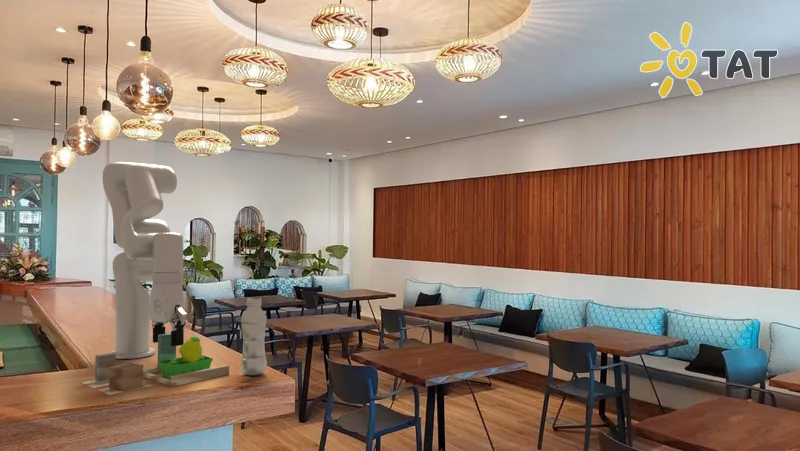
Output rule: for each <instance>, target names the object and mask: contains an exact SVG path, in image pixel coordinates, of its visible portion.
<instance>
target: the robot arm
mask: <svg viewBox="0 0 800 451" xmlns="http://www.w3.org/2000/svg"><path fill="white" fill-rule="evenodd" d="M177 184H178V178H177V175H176V172H175V171H174V170H173V168H171V167H170V166H167V165H159V164H150V163H149V164H148V163H141V162H128V161H127V162H126V161H114V162H110V163H108V164H106V165H105V166H104V168H103V170H102V186H103V187H102V188H103V190H104V193H105V195H106V198H107V200H108V202H109V205H110V208H111V212H112V213H111V214H112V224H113V231H114V232H113V233H114V239H115V243H116V246H118V247H119V248H121V249H123V252H120V253H117V255H116V256H114V258H113V260H112V272H113V277H114V286H115V287H114V288H115V290H114V291H115V322H114V323H115V324H114V325H115V330H114V336H115V337H114V345H115V346H114V350H112V351H110V352H109V353H115V354H116V360H117V359H118V360H128V359H129V360H131V359H133V360H134V359H140V358H145V357H149V356H153V355H154V354H156V349H155V348H154V347H151V342H150V340H151V333H150V332H151V327H152V343H157V344H158V335H161V334H166V326H165V324H168V323H169V324H170V326H171V329H172V330H171V331H170V333H171V346H173V347H174V346H176V347H179V346H180V347H181V346H182V345H183V344H184V343H185V341H184V337H185V335H184V334H185V325H186V320H187V317H188V314H187V312H185V299H184V298H185V297H184V289H183V285H184V236H183V235H182V234H181V233H179V232H171V229H170V227H169V225H168V223H167V222H166V221H164V220H161V219H155V218H154V219H153V217H156V216H157V215H159V214H160V213H161V212H162V211H163V209H164V201H163V198H162V194H172V193H173V192H175V191H176V189H177V186H178V185H177ZM149 282H150V283H151V282H152V288H151V294H150V293H149V291H148V290H147V289H146V288H145V287H144V286H143V284H142V283H149Z"/></svg>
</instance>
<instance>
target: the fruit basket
mask: <svg viewBox="0 0 800 451" xmlns="http://www.w3.org/2000/svg"><path fill="white" fill-rule="evenodd" d="M178 353H179V354H180V356H181V357H176V358H175V359H169V360H163V361H159V362H158V361H157V365H158V364H159V366H160V368H161V375H162V376H161V377H163V378H166V379H169V377H170V376H175V375H180V374H184V373H189V372H194V371H199V370H204V369H209V368H210V366H212V365H211V364H212V362H213V357H209V356H206V355H203V348H202V345H201V339H200V338H199V337H197V336H191V337H189V338H188V340H186V341H184V344H183V345H180V347H179V350H178Z"/></svg>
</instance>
